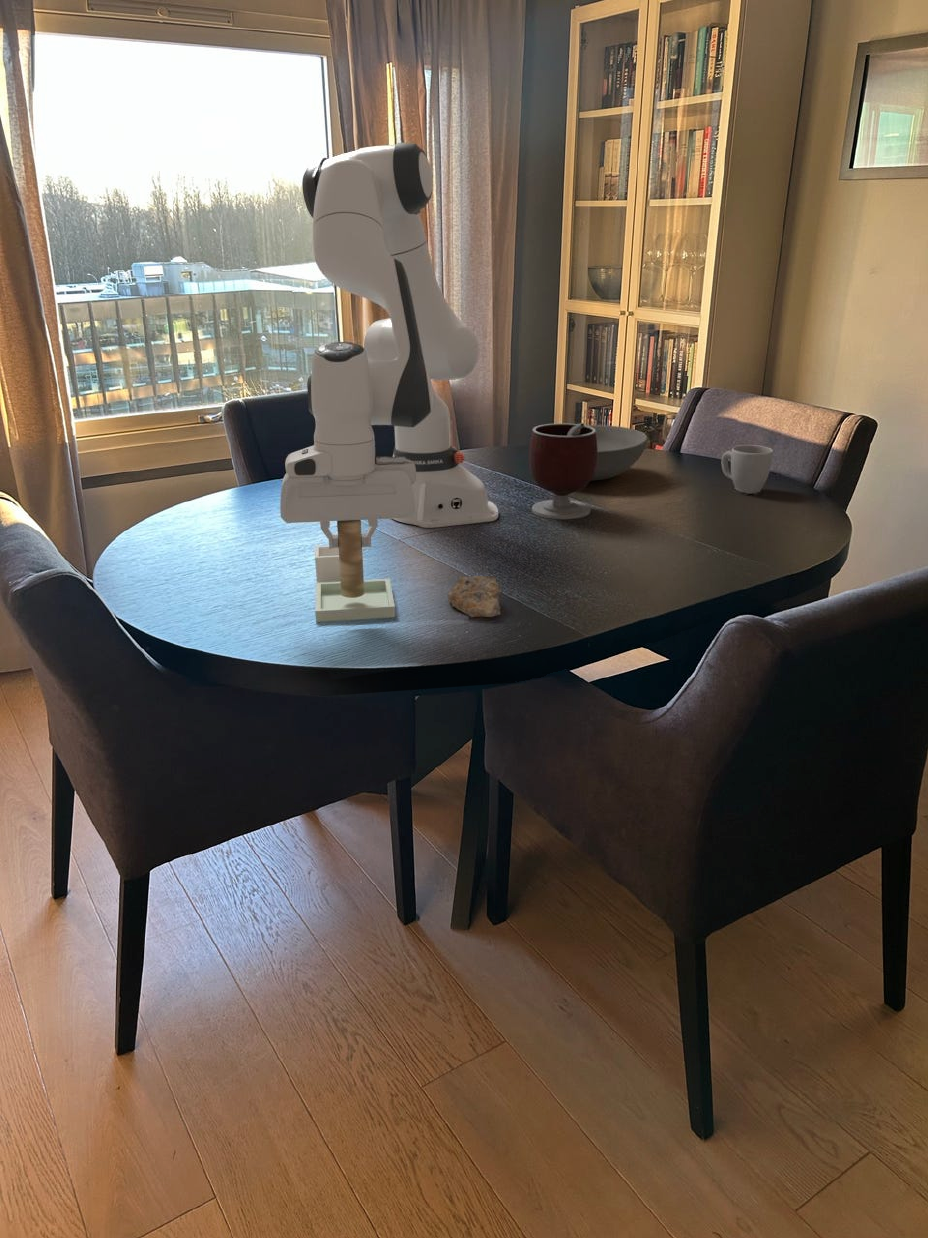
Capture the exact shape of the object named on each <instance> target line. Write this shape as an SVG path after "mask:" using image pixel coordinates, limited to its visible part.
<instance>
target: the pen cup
mask: <svg viewBox="0 0 928 1238" xmlns="http://www.w3.org/2000/svg"><path fill="white" fill-rule="evenodd" d="M314 560H315V573H316V574H315V575H316V583H321V582H339V581H341V580H340V564H339V548H336V549H329V545H319V546H315V548H314Z"/></svg>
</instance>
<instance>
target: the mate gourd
mask: <svg viewBox="0 0 928 1238" xmlns="http://www.w3.org/2000/svg"><path fill="white" fill-rule="evenodd" d="M586 425H587V424H584V423H583V422H581V423H566V422H565V423H564V422H563V423H562V422H561V423H546V424H540V425H537V426H534V427H533V428H532V434H531V437H530V441H529V442H530V444H529V453H528V454H529V456H528V458H529V459H528V460H529V467H530V473H531V476H532V478H533V481H534V482H535V483H536V485H537V486H538V487H539V488H540V489H542V490H545V491H547V492H550V493H552V494H554V495H555V496H554V497H553V499H547V500H542V501H539V502H538V501H537V502H536V503H534V504H532V507H531V512H532V513H533V514H534V515H535V516H539V517H542V518H545V519H553V520H573V519H579V518H584V517H587V516H588V515H589V514H590V513H591V507H590V506H589V505H588V504H586V503H584V502H581V501H577V500H571V499H570V498H569V495H571V494H573V493H575V492H578V491H581V490H584V489H585V488H586V487H587V486H588V485H589V483H590V482H591V481H592V480H591V479H592V478H593V475H594V472H595V467H596V462H597V438H596V433H595V432H596V430H595V429H594V428H592V427H590V426H586Z"/></svg>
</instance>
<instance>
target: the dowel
mask: <svg viewBox="0 0 928 1238" xmlns="http://www.w3.org/2000/svg"><path fill="white" fill-rule="evenodd" d="M336 524H337V525H336V528H337V535H338V544H339V564H340V580H341V595H342V596H344V597H348V598H356V597H360V596H362V595H364V580H365V579H364V561H363V560H364V559H363V558H364V557H363V547H362V539H361V536H362V535H361V534H362V520H349V521H336Z"/></svg>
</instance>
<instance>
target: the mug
mask: <svg viewBox="0 0 928 1238" xmlns="http://www.w3.org/2000/svg"><path fill="white" fill-rule="evenodd" d="M773 458H774V450H773V449H772V448H771V447H768V446H764V445H757V444H741V445H740V444H739V445H735V446H733V447H732V448H731V450H727V451H725V452H724V453H723V454H722V456H721V464H720V465H721V470H722V472H723V474H724V477H726V478H728V479H730V480H731V481H732V483H733V485H734V490H735V489H736V490H738V491H740V492H746V493H756V492H760V493H761V491H762V488H763V487H764V485H765V483H766V482H767V479H768V477H769V473H770V470H771V468H772V463H773ZM729 459H730V467H729Z"/></svg>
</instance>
